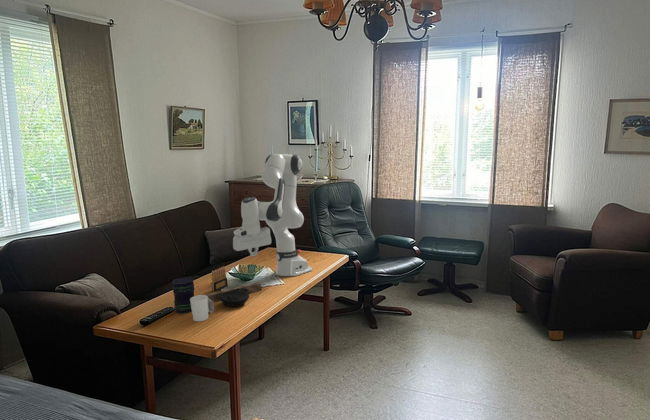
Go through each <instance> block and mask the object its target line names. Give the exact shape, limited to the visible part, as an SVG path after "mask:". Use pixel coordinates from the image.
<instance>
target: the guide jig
mask: <svg viewBox="0 0 650 420" xmlns="http://www.w3.org/2000/svg"><path fill="white" fill-rule="evenodd" d="M237 288H244V289H247V290H248V291H247V292H246V293H247V294H248V295H249V294H252V293H255V292H256V293H257V292H259V291H262V289H263V288H262V282H259V281H258V282H253V283H250V284H246V285H242V286H238V287H234V288H229V289H225V290H224V289H223V290H219V291H216V292H211V293H208V294H205V295H206V296H208V313H210V314H211V313H215V304H214V303H216V302H219V301H220V299H219V295H221V294H222V293H225V292H228V291H232V290H237ZM220 302H221V301H220Z"/></svg>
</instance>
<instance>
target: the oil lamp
mask: <svg viewBox="0 0 650 420" xmlns="http://www.w3.org/2000/svg"><path fill="white" fill-rule="evenodd" d="M236 288H237V287H236ZM247 291H248V290H247V289H244V288H237V290H232V291H228V292H225V293H222V294H221V295H219V299H220V302H221V303H222V304H223V305H225V306H226V307H240V306H242V305H244V304H245V303H247V301H248V299H249V298H250V294H249V293H248V294H247V293H246V292H247Z"/></svg>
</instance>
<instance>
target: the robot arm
mask: <svg viewBox="0 0 650 420" xmlns="http://www.w3.org/2000/svg"><path fill="white" fill-rule="evenodd" d="M264 163H265V165H264V167H263V169H262V173H261V179H262V181H263V183H264V184H265V185H266V186H268V187H270V188H272V189H274V195H273V200H272V201H259V200H257V198H256V197H253V196H249V197H245V198H244V199H242V200H241V205H240V214H241V218H242V223H241V226H240V227H238V228H237V229H235V230H233V235H234V236H233V238H232V248H233V250H234V251H236V252H240V251H244V250H247V251H248V252H249V255H250V257H256V256H258V251H259V248H260V247H264V246H269V245H271V244H272V236H271V230H272V232H273V235H274V237H275V244H276V252H275V255H276V256H275V257H276V271H275V275H277V276H280V277H297V276H299V275H302V274H303V275H304V274H306V273H309V272H312V271H313V267H311V266H310V265H309V264H308V263H309V262H308V261H307V259H306V258H304V257H302V256H301V255H299V254H301V253H302V250H301V249H296V242H295V239H296V238H295V236H294V234H292V233H291V232H290V231H289V229H298V228H301V227H302V226H303V224H304V221H305V217H304V215H303V212H301V210H300V209H299V206H298V205H297V186H298V185H297V184H298V182H297V181H298V180H297V175H298V174H299V173H300V171H301V170H302V169H303V168H302V167H303V159H302V157H301V156H300V155H297V154H290V153H281V154H279V153H273V154H268V156H267V157H266V158H265V162H264ZM260 221H265V223H266V225H268V227H267V226H264V227H261V223H260ZM253 248H254V251H252V250H253Z"/></svg>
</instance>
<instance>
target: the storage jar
mask: <svg viewBox="0 0 650 420" xmlns="http://www.w3.org/2000/svg"><path fill="white" fill-rule="evenodd" d="M194 282H195V281H194V278H193V277H187V276H186V277H179V278H176V279H173V280H172V293H173V296H174V300H173V303H174V304H173V305H174V306H173V307H174V310H175V311H174V312H175V313H176V314H178V313H179V314H180V315H181V314H182V315H183V314H189V313H192V310H191V303H190V298H192V297H194V296H195V283H194Z"/></svg>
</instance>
